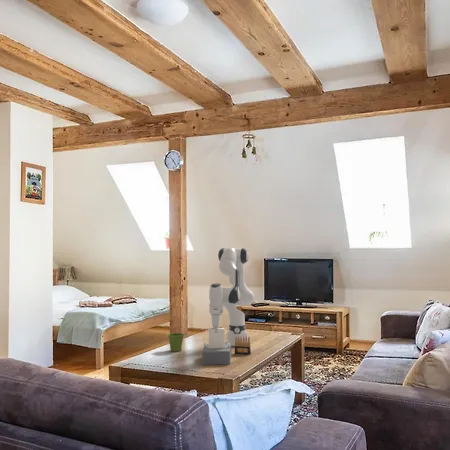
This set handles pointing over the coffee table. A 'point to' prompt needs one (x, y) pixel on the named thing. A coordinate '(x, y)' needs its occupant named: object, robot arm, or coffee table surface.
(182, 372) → the coffee table surface
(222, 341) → the door panel
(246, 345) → the ammunition clip
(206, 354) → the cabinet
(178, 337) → the plant pot
